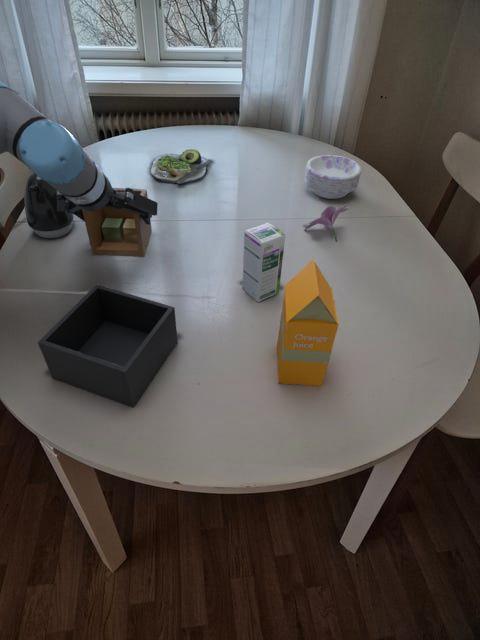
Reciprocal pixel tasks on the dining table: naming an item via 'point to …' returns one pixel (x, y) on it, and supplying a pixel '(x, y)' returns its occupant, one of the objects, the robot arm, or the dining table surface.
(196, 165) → the salad plate
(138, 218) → the box
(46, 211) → the dark grey rounded cone
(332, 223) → the lily
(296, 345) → the orange juice
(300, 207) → the dining table surface
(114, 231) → the cube sage
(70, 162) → the robot arm
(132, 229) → the cube cream
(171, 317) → the basket
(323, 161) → the paper bowls
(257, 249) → the syrup box
